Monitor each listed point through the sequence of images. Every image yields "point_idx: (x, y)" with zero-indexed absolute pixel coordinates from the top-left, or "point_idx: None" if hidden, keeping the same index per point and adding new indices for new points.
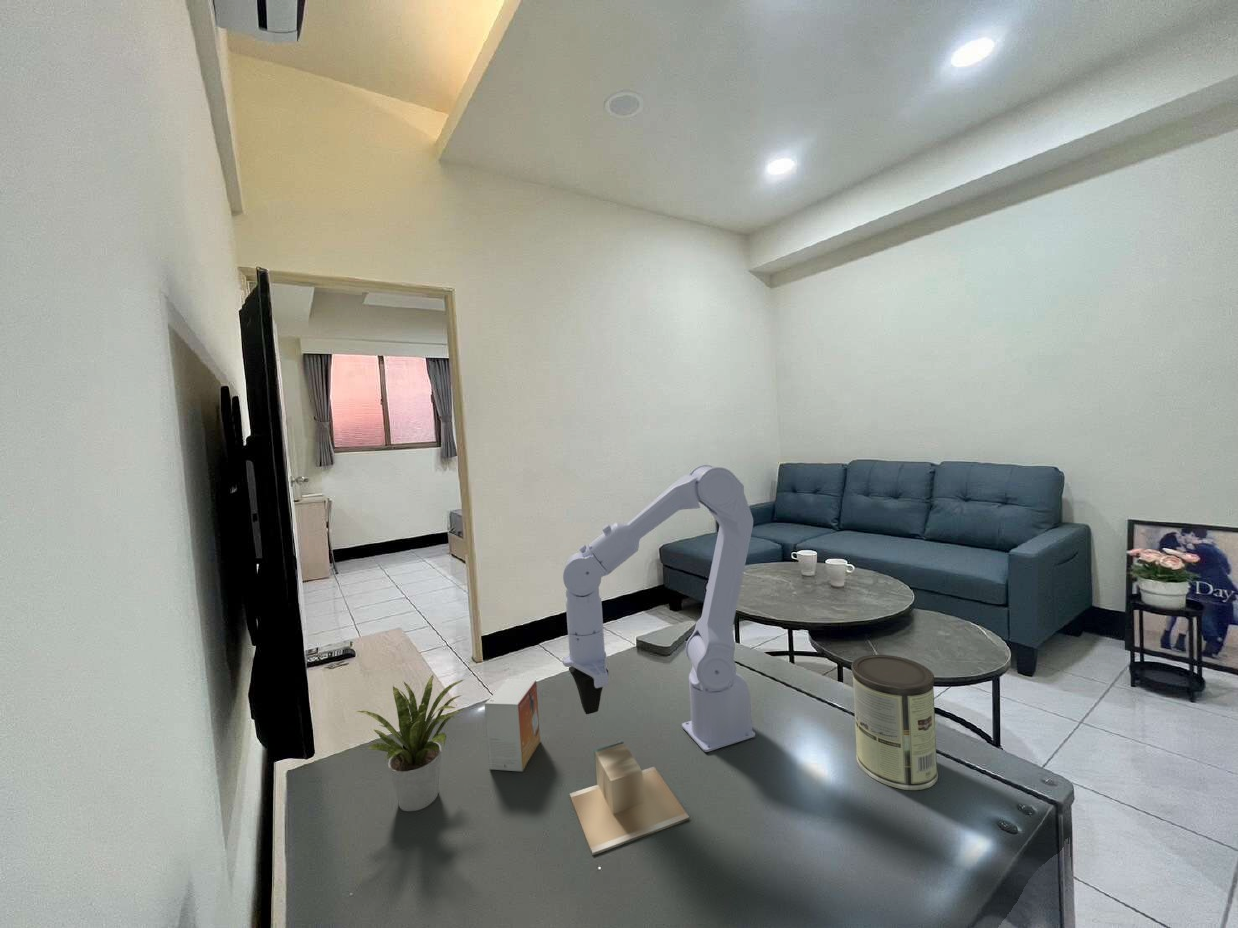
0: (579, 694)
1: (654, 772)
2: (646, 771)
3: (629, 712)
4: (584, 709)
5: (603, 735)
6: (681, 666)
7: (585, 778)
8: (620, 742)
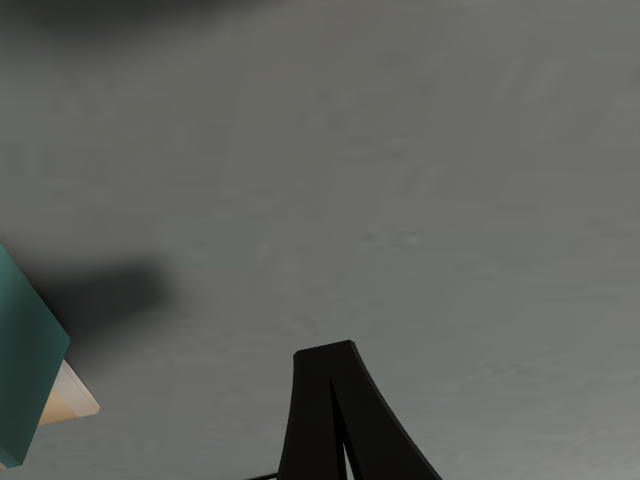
0: (384, 443)
1: (64, 411)
2: (70, 394)
3: (462, 360)
4: (294, 378)
5: (355, 276)
6: (608, 476)
7: (36, 188)
8: (11, 458)
